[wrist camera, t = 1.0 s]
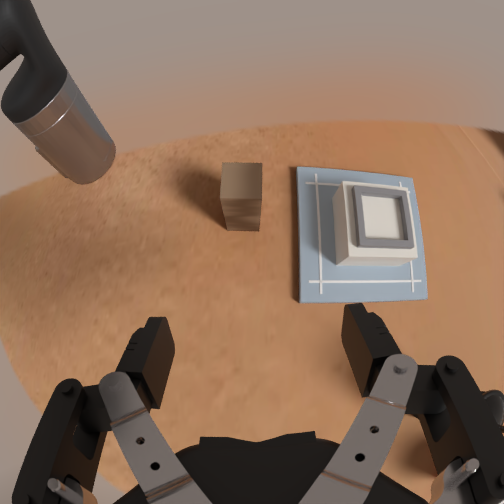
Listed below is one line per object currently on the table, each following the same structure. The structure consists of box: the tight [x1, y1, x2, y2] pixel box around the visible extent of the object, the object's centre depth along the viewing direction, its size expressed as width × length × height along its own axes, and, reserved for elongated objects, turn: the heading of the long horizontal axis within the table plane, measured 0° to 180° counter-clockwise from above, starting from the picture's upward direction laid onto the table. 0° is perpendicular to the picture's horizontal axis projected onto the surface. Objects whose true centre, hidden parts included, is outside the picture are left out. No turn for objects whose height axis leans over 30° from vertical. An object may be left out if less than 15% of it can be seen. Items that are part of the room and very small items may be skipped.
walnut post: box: [220, 163, 262, 231], centre depth 33 cm, size 4×4×10 cm
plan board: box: [296, 167, 428, 303], centre depth 34 cm, size 18×18×7 cm
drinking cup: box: [413, 390, 504, 433], centre depth 22 cm, size 8×8×20 cm
